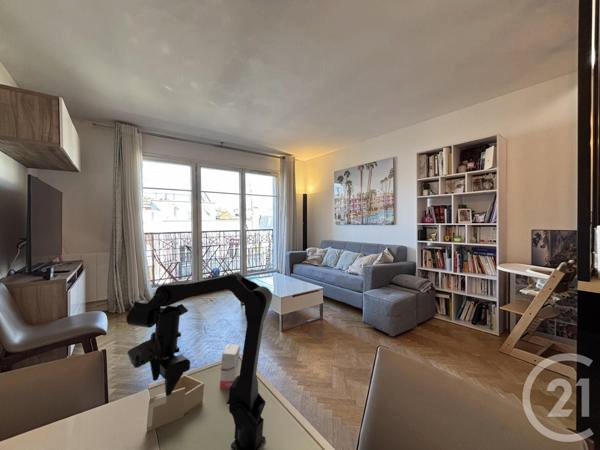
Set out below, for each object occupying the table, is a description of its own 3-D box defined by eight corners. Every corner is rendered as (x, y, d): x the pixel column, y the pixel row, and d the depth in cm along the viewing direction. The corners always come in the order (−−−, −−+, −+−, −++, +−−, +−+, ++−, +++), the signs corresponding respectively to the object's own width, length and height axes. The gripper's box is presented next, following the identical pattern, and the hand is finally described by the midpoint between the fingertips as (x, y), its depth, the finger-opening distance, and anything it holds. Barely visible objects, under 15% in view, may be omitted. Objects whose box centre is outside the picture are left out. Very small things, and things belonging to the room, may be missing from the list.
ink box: (233, 389, 86) (235, 354, 87) (218, 388, 86) (221, 353, 87) (238, 375, 95) (240, 343, 96) (225, 375, 95) (227, 343, 95)
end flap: (181, 414, 72) (184, 386, 73) (183, 417, 71) (185, 388, 72) (146, 429, 66) (149, 398, 67) (147, 432, 65) (150, 401, 66)
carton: (202, 402, 78) (204, 383, 79) (184, 415, 72) (185, 394, 73) (183, 393, 82) (184, 374, 83) (164, 404, 76) (165, 384, 77)
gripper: (123, 325, 69) (116, 383, 68) (145, 349, 56) (138, 420, 55) (165, 317, 77) (160, 369, 76) (193, 336, 65) (188, 398, 64)
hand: (161, 387), depth 68 cm, fingers open, 9 cm apart
